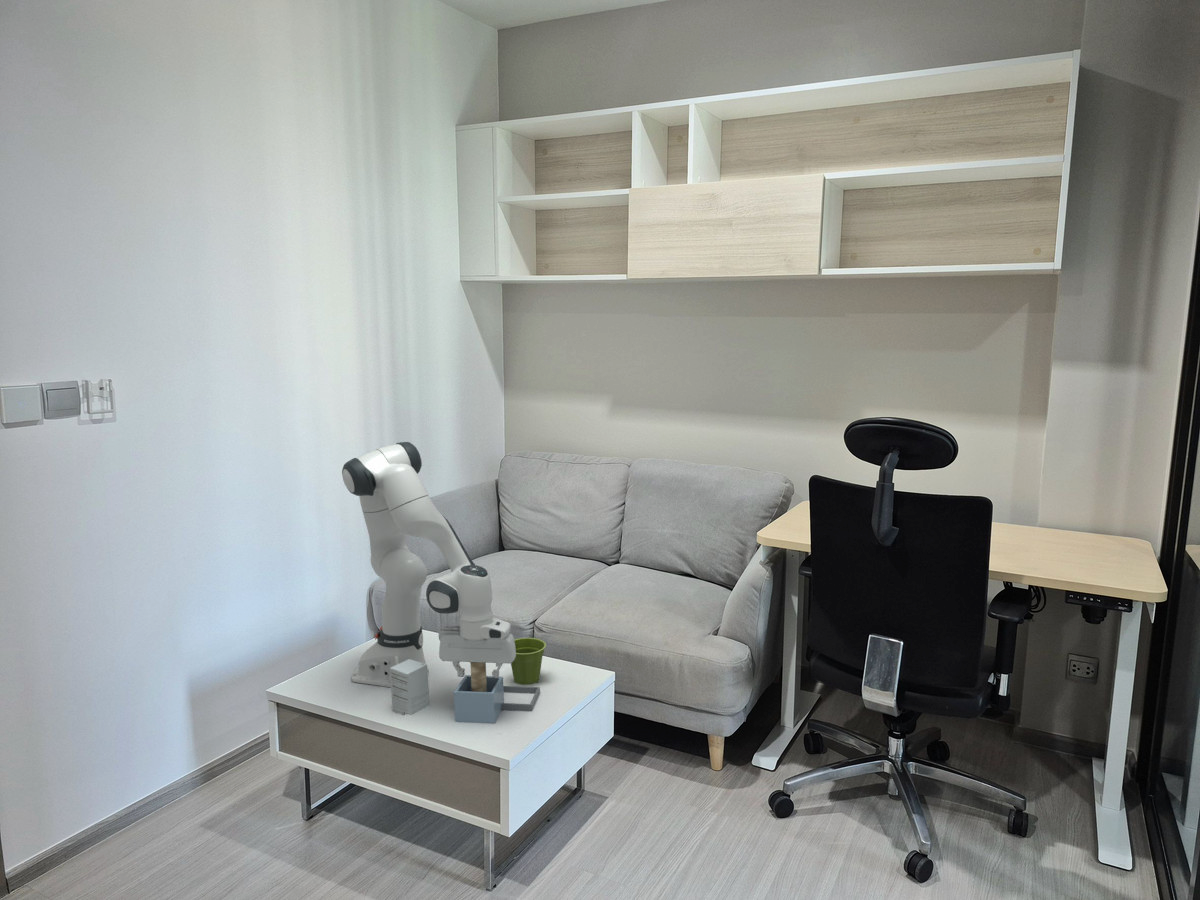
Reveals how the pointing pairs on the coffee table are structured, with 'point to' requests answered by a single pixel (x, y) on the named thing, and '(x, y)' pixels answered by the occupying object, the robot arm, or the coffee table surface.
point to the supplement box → (409, 687)
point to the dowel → (478, 677)
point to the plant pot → (527, 660)
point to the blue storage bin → (479, 701)
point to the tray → (521, 690)
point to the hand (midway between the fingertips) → (478, 676)
